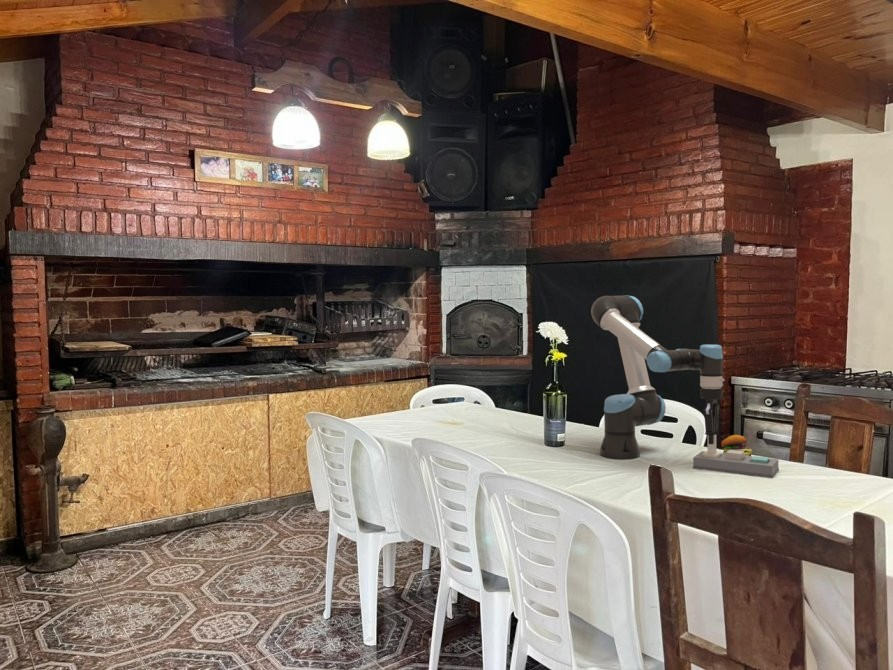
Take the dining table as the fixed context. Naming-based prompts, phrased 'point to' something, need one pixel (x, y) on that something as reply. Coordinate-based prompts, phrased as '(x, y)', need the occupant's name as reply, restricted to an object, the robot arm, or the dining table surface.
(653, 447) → the dining table surface
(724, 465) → the keypad base
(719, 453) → the key ivory
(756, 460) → the key teal
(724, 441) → the cheeseburger
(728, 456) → the key grey
